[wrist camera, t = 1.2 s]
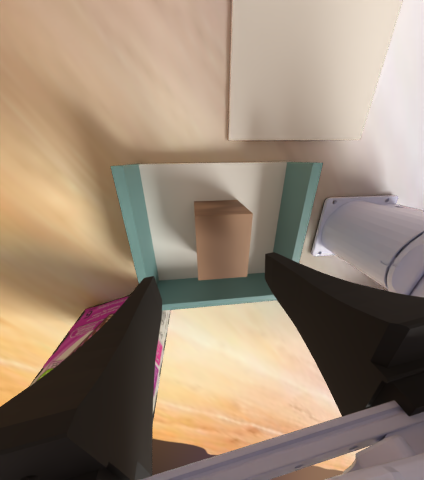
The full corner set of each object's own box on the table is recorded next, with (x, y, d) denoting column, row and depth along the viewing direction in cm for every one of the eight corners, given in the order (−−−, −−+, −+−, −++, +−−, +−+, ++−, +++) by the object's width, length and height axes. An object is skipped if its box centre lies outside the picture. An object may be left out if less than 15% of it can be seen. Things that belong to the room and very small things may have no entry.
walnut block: (237, 199, 18) (252, 213, 13) (234, 250, 20) (247, 276, 16) (193, 201, 17) (194, 216, 13) (196, 253, 20) (198, 280, 16)
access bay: (285, 161, 19) (323, 162, 13) (268, 268, 25) (290, 298, 19) (135, 163, 17) (110, 166, 12) (156, 276, 23) (145, 312, 18)
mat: (438, -132, 12) (446, -142, 11) (356, 140, 19) (360, 139, 18) (235, -165, 10) (237, -176, 10) (228, 140, 17) (228, 140, 17)
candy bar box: (157, 283, 24) (101, 489, 9) (171, 308, 26) (145, 506, 11) (82, 307, 24) (-93, 543, 9) (102, 329, 26) (-13, 550, 11)
